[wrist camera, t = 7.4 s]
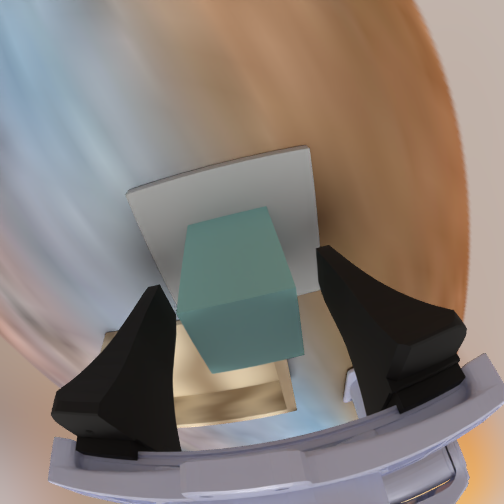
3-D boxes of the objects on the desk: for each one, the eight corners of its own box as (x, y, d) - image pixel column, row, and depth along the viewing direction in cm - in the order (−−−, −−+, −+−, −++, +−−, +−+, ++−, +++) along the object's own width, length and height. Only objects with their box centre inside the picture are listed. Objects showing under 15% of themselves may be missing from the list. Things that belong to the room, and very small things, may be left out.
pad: (305, 145, 13) (309, 148, 12) (319, 283, 18) (322, 289, 18) (128, 190, 13) (125, 194, 13) (185, 313, 18) (184, 320, 18)
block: (266, 206, 14) (296, 287, 9) (278, 268, 16) (304, 354, 11) (187, 225, 14) (176, 313, 9) (209, 284, 16) (212, 374, 11)
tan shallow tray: (272, 300, 18) (283, 342, 16) (289, 378, 25) (297, 410, 22) (105, 332, 19) (95, 370, 16) (164, 398, 25) (162, 428, 22)
